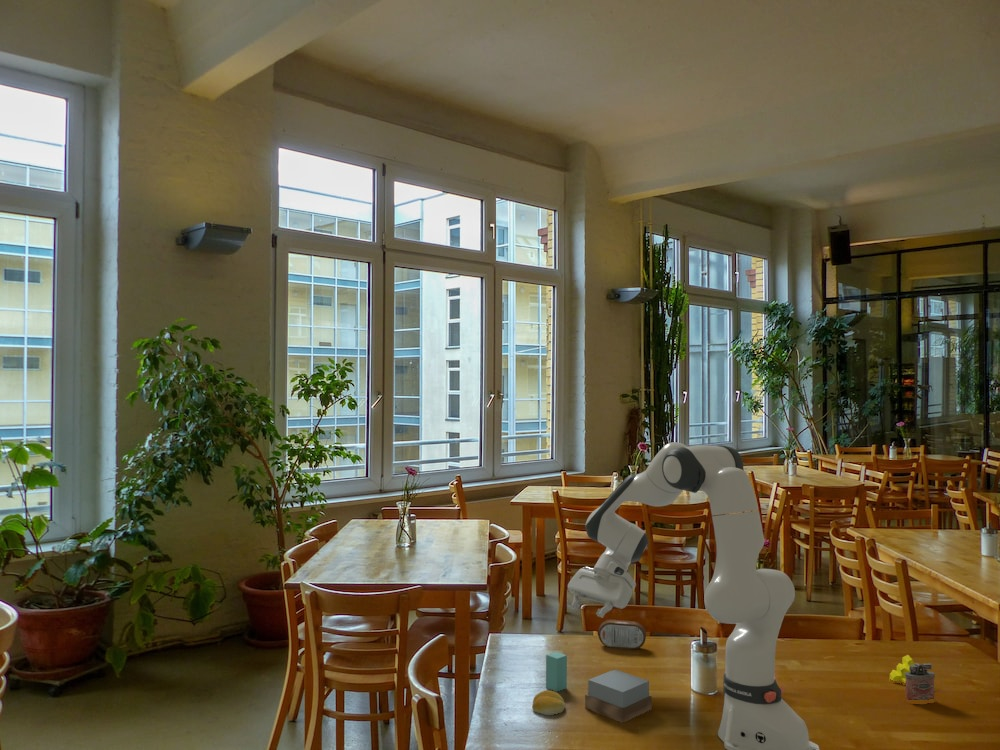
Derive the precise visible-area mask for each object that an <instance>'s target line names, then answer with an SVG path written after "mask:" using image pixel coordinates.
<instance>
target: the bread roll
mask: <svg viewBox="0 0 1000 750" xmlns="http://www.w3.org/2000/svg"><path fill="white" fill-rule="evenodd" d="M565 708H566V703H565V700H564V698H563V697H562V696H561V694H560V693H558V692H555V691H552V690H543V691H540V692H538V693H537V694H535V696H534V697H533V700H532V710H533V712H534V713H536V712H537V714H539V713H541V714H540V715H542V714H544V715H543V716H555V715H554V714H556V715H558V713H559V714H561V713H562V712H564V710H565Z"/></svg>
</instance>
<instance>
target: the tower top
mask: <svg viewBox="0 0 1000 750" xmlns="http://www.w3.org/2000/svg"><path fill="white" fill-rule="evenodd" d="M587 684H588V685H587V689H588V690H587V692H588V693H587V694H588V696H591V697H594V698H596V699H599V700H602V701H604V702H607V703H609V704H612V705H615V706H617V707H620V708H625V707H627V706H630V705H632V704H634V703H636V702H638V701H640V700H643V699H645V698H647V697H649V696H650V681H649V680H647V679H645V678H641V677H639V676H637V675H636V676H635V675H633V674H630V673H627V672H625V671H621V670H619V669H613V670H610V671H607V672H604V673H603V674H599V675H597V676H595V677H592V678H590V679H588V683H587Z"/></svg>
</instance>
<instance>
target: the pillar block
mask: <svg viewBox="0 0 1000 750" xmlns="http://www.w3.org/2000/svg"><path fill="white" fill-rule="evenodd" d="M567 677H568V655H566V654H564V653H561V652H559V651H554V652H552V653H547V654H546V655H545V688H546V689H547V688H549V689H548V690H550V689H551V690H550V691H552V690H553V691H554V692H555V691H556V693H558V692H557V691H559V692H561V691H563V689H564V690H566V689H567V688H568V687H567V685H568V683H567V681H568V679H567ZM560 690H561V691H560Z"/></svg>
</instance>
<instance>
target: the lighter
mask: <svg viewBox="0 0 1000 750" xmlns="http://www.w3.org/2000/svg"><path fill="white" fill-rule="evenodd" d="M914 663H915V664H914V665H910V672H906V673H905V677H906V686H905V697H906V699H908V700H929V699H934V698H935V678H936V673H934V672H933V671H929V670H933V665H932V664H931V663H922V664H920V663H918V662H914Z"/></svg>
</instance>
